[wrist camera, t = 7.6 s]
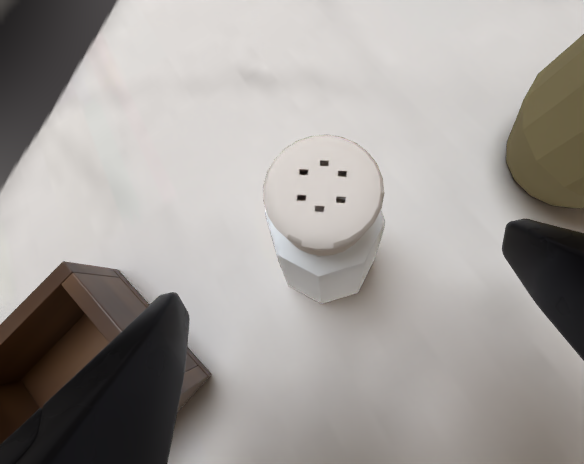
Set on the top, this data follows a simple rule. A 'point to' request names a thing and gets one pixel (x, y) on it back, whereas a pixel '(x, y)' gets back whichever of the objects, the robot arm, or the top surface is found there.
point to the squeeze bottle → (552, 133)
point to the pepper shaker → (324, 215)
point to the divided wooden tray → (67, 338)
